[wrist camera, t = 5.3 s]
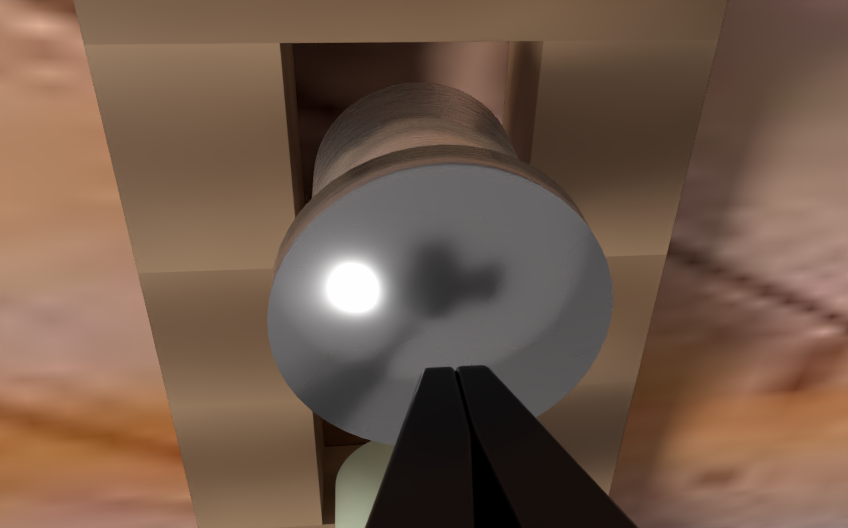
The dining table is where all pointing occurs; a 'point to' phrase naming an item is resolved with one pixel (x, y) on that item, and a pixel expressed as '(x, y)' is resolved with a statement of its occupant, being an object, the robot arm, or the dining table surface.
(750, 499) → the dining table surface
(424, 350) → the plunger
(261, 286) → the walnut board
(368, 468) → the sage plug
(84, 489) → the dining table surface
